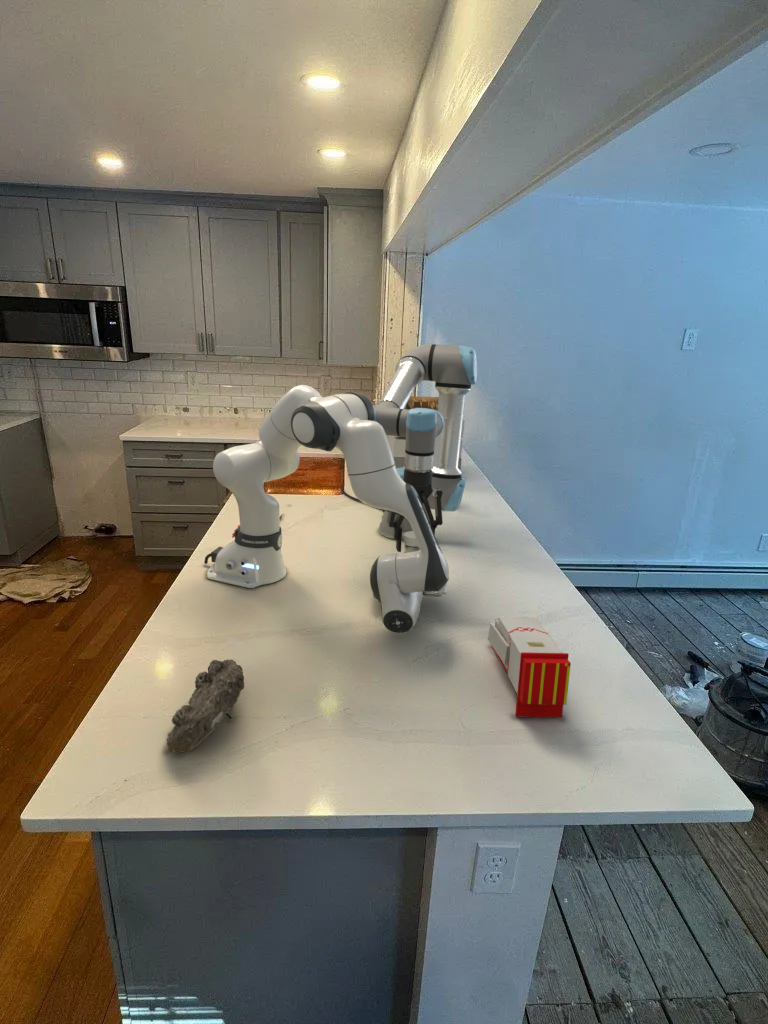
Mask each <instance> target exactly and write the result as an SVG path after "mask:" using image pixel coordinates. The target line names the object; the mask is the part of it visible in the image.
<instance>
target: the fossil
mask: <svg viewBox="0 0 768 1024" xmlns="http://www.w3.org/2000/svg"><path fill="white" fill-rule="evenodd" d="M243 670H244V669H243V667H242V665H240V664H237V662H236V661H235V660H234V659H232V658H231V659H227V658H226V659H224V660H223V661H222V660H217V659H212V660H211V661H210V663H209V665H208V666H207V671H201V672H199V673H198V674H197V675H196V676H195V680H194V684H195V685H194V687H195V689H194V690H193V693H192V694H191V697H190V698H189V700H188V704H184V705H182V706H181V707H180V709H177V710H176V711H175V713H174V715H173V716H172V718H171V723H172V724H173V727H172V730H171V731H170V732H168V734H167V738H166V741H167V742H166V745H167V749H168V750H169V751H173V752H174V753H176V754H178V753H182V752H188V751H189V752H192V751H193V750H195V748H196V747H197V746H199V744H200V743H201V742H203V741H204V740H205V739H206V738H207V737H208V736H209V735H210V734H211V733H212V732H214V730H215V729H217V727H218V726H219V724H220V722H221V721H222V720H223V719H224V718H225V716H226V717H227V719H229V720H233V717H232V715H230V714H229V710H230V709H231V708H234V706H235V704H236V703H237V702H238V699H239V697H240V695H241V693H242V691H243V690H245V689H244V688H245V675H244V671H243Z"/></svg>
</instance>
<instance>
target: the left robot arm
mask: <svg viewBox="0 0 768 1024" xmlns="http://www.w3.org/2000/svg"><path fill="white" fill-rule="evenodd" d="M373 406H374V405H373V403H372V401H371V400H370V399H369V397H367V396H366V395H365V394H363V393H359V392H354V391H353V392H352V391H347V392H342V393H336V394H332V395H331V394H330V395H327V396H324V397H323V396H322V395H321V394H320V392H319V391H318V390H316V389H315V388H314V387H312V386H310V385H306V384H299V385H295V386H293V387H292V388H290V389H289V390H288V391H287V392H286V393H285V394H284V395H283V396H281V397H280V398H279V400H278V401H276V403H275V404H274V406H273V407H272V408H271V410H270V411H269V412H268V414H267V415H266V417H265V418H264V419H263V420H262V421H261V423H260V424H259V427H258V438H259V441H258V440H257V441H256V442H253V443H247V444H241V445H236V446H232V447H231V446H230V447H229V448H227V449H224V450H222V451H220V452H217V454H216V456H214V459H213V464H212V471H213V475H214V477H215V479H216V481H217V482H218V483H219V484H220V485H221V486H222V487H224V488H226V489H227V490H229V492H231V494H232V495H233V496H234V498H235V501H236V504H237V508H238V515H239V517H238V518H239V525H237V528H236V529H234V532H233V533H232V534H231V538H232V539H233V538H234V539H233V540H232V541H230V542H229V543H227V544H226V545H225V546H224V547H223V546H218V547H217V548H216V549H215V548H214V549H213V550H212V551H211V552H210V553H208V554H206V556H205V558H204V560H203V561H204V562H203V563H204V564H205V565H208V562H209V558H211V563H212V565H211V566H210V567H209V568H208V570H207V572H206V578H207V579H208V580H212V581H217V582H221V583H225V584H231V585H233V586H234V585H235V586H238V587H242V588H247V589H254V588H257V587H259V586H262V585H270V584H273V583H276V582H278V581H281V580H283V578H285V577H286V575H287V569H286V566H285V562H284V558H283V551H282V546H283V534H282V533H283V532H282V526H281V519H280V516H281V515H280V504H279V502H278V500H277V499H276V497H274V496H272V495H270V494H269V493H267V492H266V491H265V487H264V486H265V485H264V484H265V483H268V482H272V481H276V480H281V479H283V478H285V477H287V476H289V475H291V474H293V473H295V472H296V471H297V470H298V469H299V466H300V461H301V458H300V452H299V448H300V447H301V446H303V447H305V448H308V449H315V450H321V451H325V452H332V451H333V450H334V449H335V448H336V449H338V450H339V451H340V452H341V453H342V455H343V457H344V461H345V465H346V470H347V475H348V480H349V483H350V487H351V490H352V492H353V495H354V496H355V498H357V499H359V500H360V501H361V502H363V503H362V504H364V503H365V504H364V505H366V506H369V507H372V508H374V509H378V508H379V509H378V510H381V509H384V510H389V511H393V512H396V513H399V514H401V515H403V516H404V517H405V518H406V519H407V520H408V521H409V523H410V525H411V527H412V530H413V532H414V535H415V537H416V540H417V542H418V545H419V547H420V550H419V551H414V552H408V553H404V552H400V553H392V554H386V555H379V556H378V557H377V558H376V559H375V560H374V561H373V563H372V565H371V568H370V573H369V584H370V589H371V592H372V598H373V599H374V600H376V601H377V602H378V603H379V604H381V621H382V624H383V626H384V627H385V629H387V630H388V632H389V631H390V632H391V633H394V634H404V633H407V632H409V631H411V630H412V629H413V628H414V627H415V625H416V623H417V621H418V619H419V615H420V611H421V604H422V602H423V601H422V600H423V596H424V597H432V598H433V597H434V598H440V597H442V596H446V595H447V594H448V588H447V584H448V582H449V580H450V568H449V564H448V562H447V559H446V557H445V556H444V554H443V553H444V552H442V549H441V547H440V545H439V543H438V540H437V537H436V534H435V535H434V532H433V530H432V527H431V525H430V522H429V520H428V517H427V514H426V512H425V509H424V507H423V505H422V502H421V500H420V498H419V496H418V494H417V492H416V490H415V489H414V487H413V486H412V485H409V484H406V483H405V482H404V481H403V480H402V478H401V477H400V475H399V474H398V472H397V469H396V466H395V461H394V457H393V453H392V450H391V447H390V444H389V441H388V438H387V436H386V433H385V431H384V429H383V427H382V426H381V425H380V424H379V423H377V422H375V421H374V417H375V413H374V408H373ZM361 502H360V503H361Z"/></svg>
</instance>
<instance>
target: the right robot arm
mask: <svg viewBox="0 0 768 1024" xmlns="http://www.w3.org/2000/svg"><path fill="white" fill-rule="evenodd" d="M394 371H395V372H394V374H393V377H392V378H391V380H390V382H389V384H388V386H387V387H386V389H385V391H384V392H383V394H382V396H381V398H380V399H379V401H378V403H377V405H376V406H375V405H373V408H374V413H375V417H374V421H375V422H377V423H379V424H380V425H381V426H382V427H383V429H384V431H385V433H386V435H391V436H401V437H406V446H405V462H404V467H401V468H396V469H397V472H398V474H399V475H400V477H401V478H402V480H403V481H404V482H405V483H406V484H409V485H412V486H413V487H414V489H415V490H416V492H417V494H418V496H419V498H420V500H421V502H422V505H423V507H424V509H425V512H426V514H427V517H428V520H429V522H430V525H431V527H432V530H433V532H434V535H435V536H436V529H437V528H438V526H442V525H443V524H444V523H443V512H456V511H457V510H458V509H459V508H460V505H461V502H462V499H463V496H464V493H465V492H464V491H465V487H466V478H464V477H462V475H463V474H462V470H461V471H460V470H459V468H458V461H459V451H460V441H461V440H462V438H461V432H462V422H463V419H464V412H465V411H464V410H465V403H466V402H465V401H466V395H467V394H468V393H469V392H470V391H471V390H472V386H474V385H476V384H477V381H478V380H477V378H478V360H477V353H476V350H475V348H474V347H471V346H466V345H461V344H459V345H455V344H454V345H453V344H436V343H435V344H434V343H425V344H424V343H423V344H421V345H418V346H415V347H413V348H412V349H410V350H409V351H407V352H405V353H404V354H403V355H402V356H401V357H400V358H399V360H398V361H397V363H396V365H395V369H394ZM424 381H425V382H435V383H434V388H435V389H436V391H437V392H438V397H439V400H438V410H434V409H427V408H414V409H410V410H408V409H405V407H406V405H407V403H408V401H409V399H410V397H411V396H413V393H414V391H415V389H416V387H417V385H419V384H421V383H422V382H424ZM340 490H341V493H342V494H343V495H345V496H346V497H348V498H349V499H352V500H354V501H356V502H359V503H362V504H364V505H366V504H365V503H363V502H361V501H360V500H359V499H358V498H357V497H354V496H352V495H350V494H348V493H347V492H346V491H345V489H344V486H343V484H341V485H340ZM377 509H378V510H380V511H383V512H384V513H383V515H382V519H381V522H379V526H378V533H379V534H380V535H381V536H382V537H385V538H387V539H389V540H394V541H396V542H395V549H396V551H397V552H398V553H402V542H403V540H404V533H406V532H409V531H413V530H412V527H411V525H410V523H409V521H408V520H407V519H406V518H405V517H404V516H403V515H401V514H399V513H396V512H393V511H389V510H384V509H379V508H377ZM432 510H434V514H433V512H432ZM434 515H435V517H434Z"/></svg>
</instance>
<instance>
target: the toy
mask: <svg viewBox="0 0 768 1024" xmlns="http://www.w3.org/2000/svg"><path fill="white" fill-rule="evenodd" d="M488 625H489V627H488V633H487V641H488V642H489V644H490V646H491V647H490V648H491V649H492V650H493V652H494V654H495V656H496V658H497V659H498V660H499V662H500V664H501V666H502V668H503V669H504V671H505V673H506V674H507V676H508V678H509V680H510V682H511V685H512V686H513V689H514V690H515V693H516V704H515V717H516V718H517V717H518V718H519V717H520V718H521V717H522V718H563V710H564V705H567V701H568V692H569V685H570V684H569V683H570V676H571V675H570V674H571V666H572V664H571V661H570V660H569V655H570V654H569V653H568V652H563V651H562V649H561V648H560V647H559V646H558V644H557V643H556V642H555V640H554V639H553V638H552V636H551V635H550V634H549V632H548V631H547V629H546V628H545V627H544V626H543V624H542V622H541V621H540V620H539V619H538V618H537V616H498V618H496V619H494V623H493V622H489V624H488Z"/></svg>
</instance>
